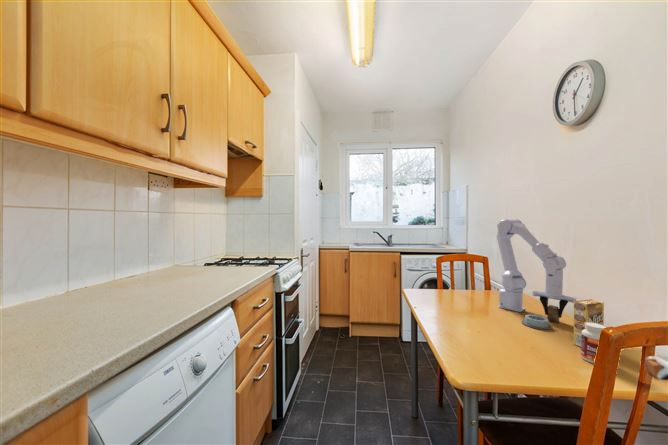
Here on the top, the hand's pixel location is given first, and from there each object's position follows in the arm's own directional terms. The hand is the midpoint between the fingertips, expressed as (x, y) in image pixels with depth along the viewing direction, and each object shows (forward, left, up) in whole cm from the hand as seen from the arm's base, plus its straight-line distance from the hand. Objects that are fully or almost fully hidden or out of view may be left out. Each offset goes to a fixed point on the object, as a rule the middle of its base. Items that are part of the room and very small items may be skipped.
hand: (553, 315), depth 117 cm
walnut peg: (0, 0, -2) cm, 2 cm away
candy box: (+12, -21, -2) cm, 24 cm away
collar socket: (-4, -12, -2) cm, 13 cm away
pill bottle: (+14, -34, -2) cm, 37 cm away
